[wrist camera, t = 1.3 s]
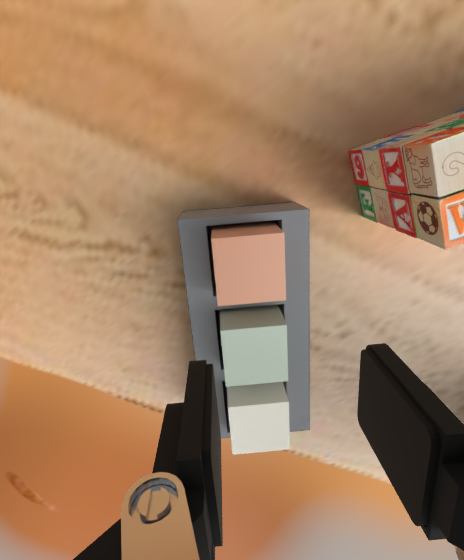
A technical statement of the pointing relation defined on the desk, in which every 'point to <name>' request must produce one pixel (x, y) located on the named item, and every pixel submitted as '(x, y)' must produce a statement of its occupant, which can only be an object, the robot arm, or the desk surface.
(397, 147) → the stack of blocks
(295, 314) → the frame
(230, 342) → the sage button
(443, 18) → the desk surface
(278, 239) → the terracotta button
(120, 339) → the desk surface
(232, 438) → the cream button
